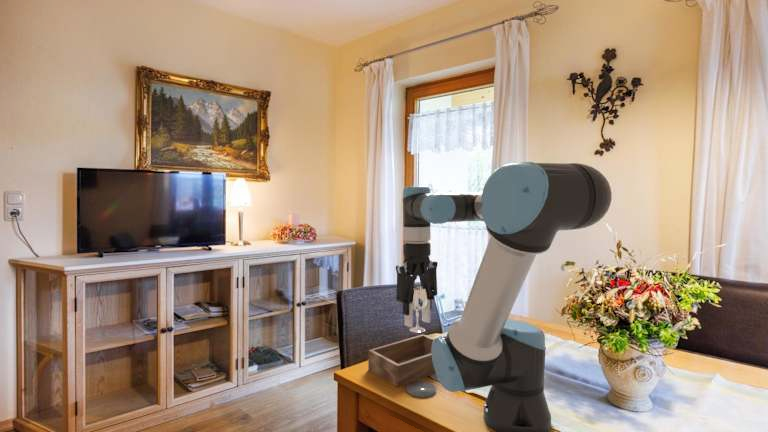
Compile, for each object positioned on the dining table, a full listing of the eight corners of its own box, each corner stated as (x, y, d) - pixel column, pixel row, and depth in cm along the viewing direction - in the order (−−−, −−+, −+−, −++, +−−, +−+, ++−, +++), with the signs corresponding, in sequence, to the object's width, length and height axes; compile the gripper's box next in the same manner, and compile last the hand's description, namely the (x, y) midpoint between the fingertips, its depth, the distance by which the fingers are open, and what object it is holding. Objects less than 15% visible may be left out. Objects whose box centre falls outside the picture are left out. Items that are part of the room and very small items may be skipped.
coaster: (442, 391, 116) (442, 389, 116) (420, 400, 111) (420, 398, 111) (422, 380, 122) (422, 378, 122) (400, 388, 117) (400, 386, 117)
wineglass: (431, 329, 123) (431, 287, 122) (421, 334, 118) (421, 291, 117) (413, 325, 126) (413, 284, 125) (403, 331, 121) (403, 288, 120)
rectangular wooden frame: (454, 366, 132) (454, 347, 131) (397, 387, 118) (398, 366, 118) (423, 351, 143) (423, 334, 142) (368, 369, 129) (368, 350, 129)
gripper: (432, 238, 129) (432, 314, 130) (381, 243, 118) (382, 327, 119) (450, 240, 123) (450, 320, 124) (398, 245, 112) (399, 334, 113)
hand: (417, 323), depth 122 cm, fingers closed on wineglass, 6 cm apart
